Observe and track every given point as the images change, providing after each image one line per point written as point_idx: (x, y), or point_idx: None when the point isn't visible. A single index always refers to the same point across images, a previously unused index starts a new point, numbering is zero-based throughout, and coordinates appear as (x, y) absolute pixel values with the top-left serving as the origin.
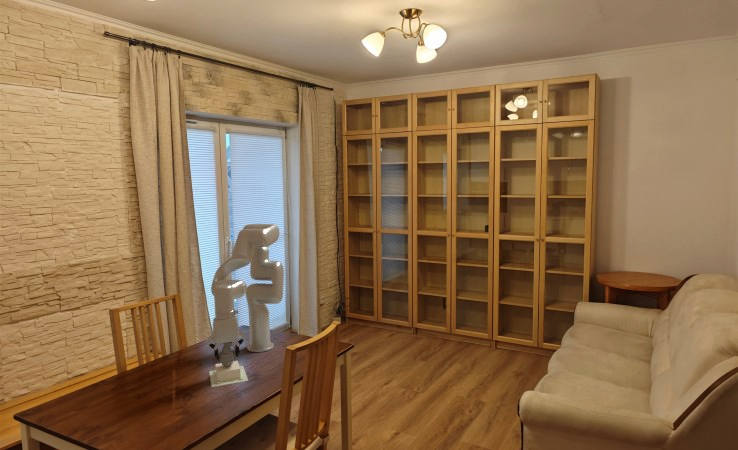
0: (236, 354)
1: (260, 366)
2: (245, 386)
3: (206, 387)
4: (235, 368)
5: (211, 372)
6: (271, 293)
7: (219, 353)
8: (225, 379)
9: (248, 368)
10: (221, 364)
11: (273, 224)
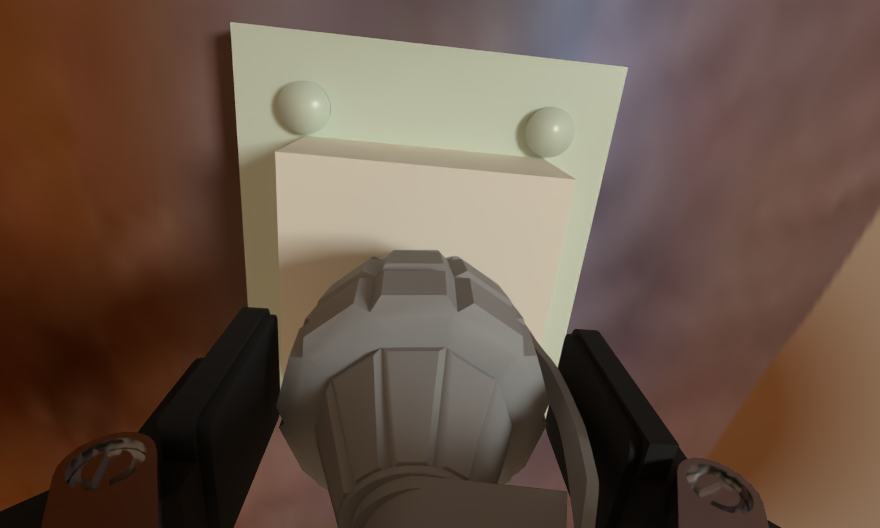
0: (556, 448)
1: (781, 98)
2: None
3: (221, 313)
4: None
5: (259, 81)
6: None
7: (281, 395)
8: None
9: (661, 84)
10: (354, 206)
11: None
